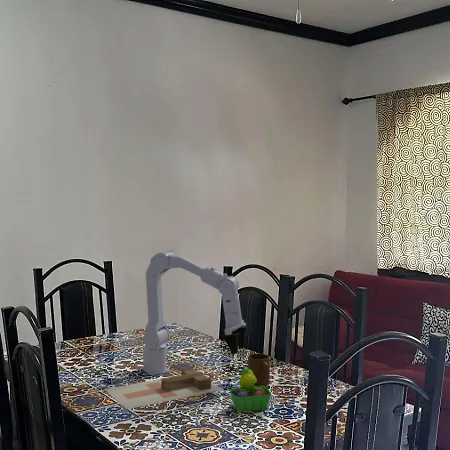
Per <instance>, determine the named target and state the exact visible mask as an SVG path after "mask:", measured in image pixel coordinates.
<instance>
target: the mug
mask: <svg viewBox="0 0 450 450" xmlns="http://www.w3.org/2000/svg"><path fill="white" fill-rule="evenodd" d="M270 359H271V357H270V355H269V354H265V353H251V354H249V355H248V356H247V368H248V369H250V370H251V371H252V372H253V374H254V376H255V377H256V380H257V382H256V383H255V384H254V386H264V387H267V386H268V385H270V383H271V377H270V376H271V361H270Z"/></svg>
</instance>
